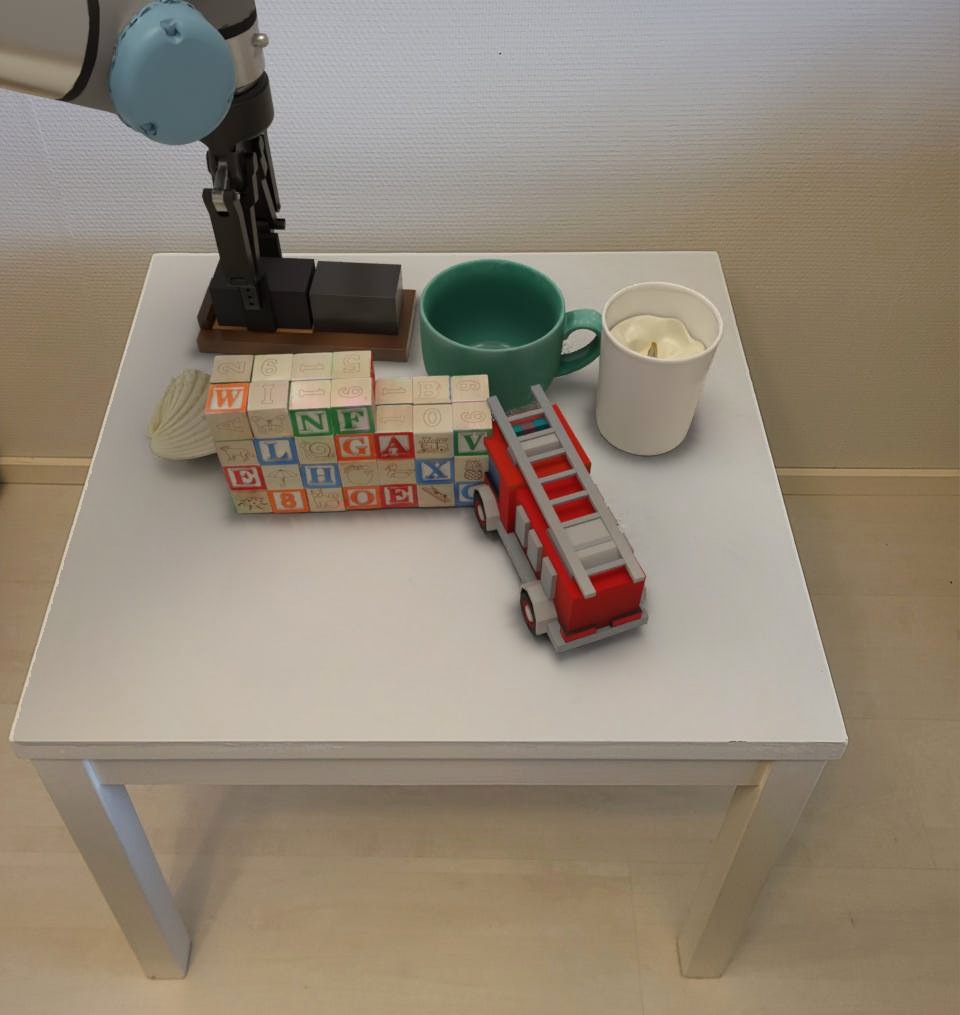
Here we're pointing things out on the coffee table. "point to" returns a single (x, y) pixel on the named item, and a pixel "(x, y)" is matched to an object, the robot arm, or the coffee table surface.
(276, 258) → the black block
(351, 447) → the stack of blocks
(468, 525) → the coffee table surface
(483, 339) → the mug
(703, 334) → the candle holder
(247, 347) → the brown wooden tray
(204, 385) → the seashell
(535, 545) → the toy fire truck
